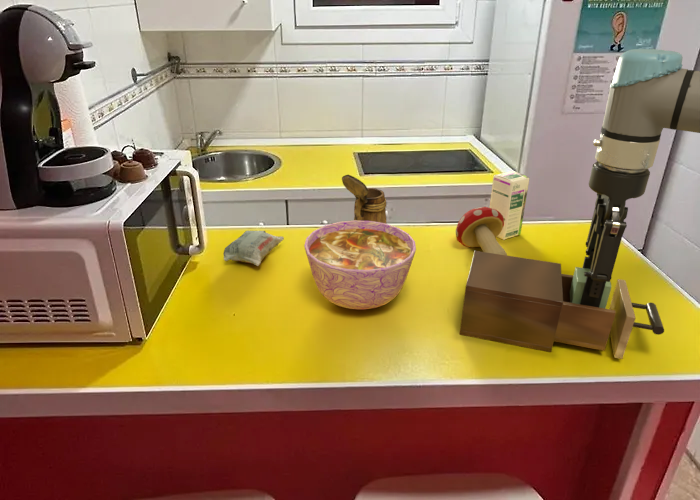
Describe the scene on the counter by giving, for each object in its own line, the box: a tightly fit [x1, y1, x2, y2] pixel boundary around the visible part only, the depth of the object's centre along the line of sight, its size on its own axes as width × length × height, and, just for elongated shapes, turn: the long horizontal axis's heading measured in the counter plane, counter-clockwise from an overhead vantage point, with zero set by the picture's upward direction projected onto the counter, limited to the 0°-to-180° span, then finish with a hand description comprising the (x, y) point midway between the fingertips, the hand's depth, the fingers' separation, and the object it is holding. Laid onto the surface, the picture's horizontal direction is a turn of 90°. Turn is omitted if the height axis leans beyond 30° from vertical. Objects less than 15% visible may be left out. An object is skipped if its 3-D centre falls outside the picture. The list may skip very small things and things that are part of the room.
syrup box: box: [489, 170, 530, 241], centre depth 120 cm, size 6×6×14 cm
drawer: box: [554, 273, 665, 360], centre depth 86 cm, size 19×12×8 cm, turn 72°
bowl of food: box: [303, 219, 417, 311], centre depth 96 cm, size 20×20×12 cm
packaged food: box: [223, 230, 285, 267], centre depth 111 cm, size 9×12×5 cm
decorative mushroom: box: [455, 206, 508, 256], centre depth 112 cm, size 11×11×15 cm
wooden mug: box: [341, 174, 388, 224], centre depth 115 cm, size 9×14×18 cm, turn 145°
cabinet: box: [459, 250, 563, 353], centre depth 89 cm, size 15×13×10 cm
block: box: [570, 266, 612, 309], centre depth 84 cm, size 5×5×5 cm
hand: (586, 301), depth 85 cm, fingers closed on block, 5 cm apart
